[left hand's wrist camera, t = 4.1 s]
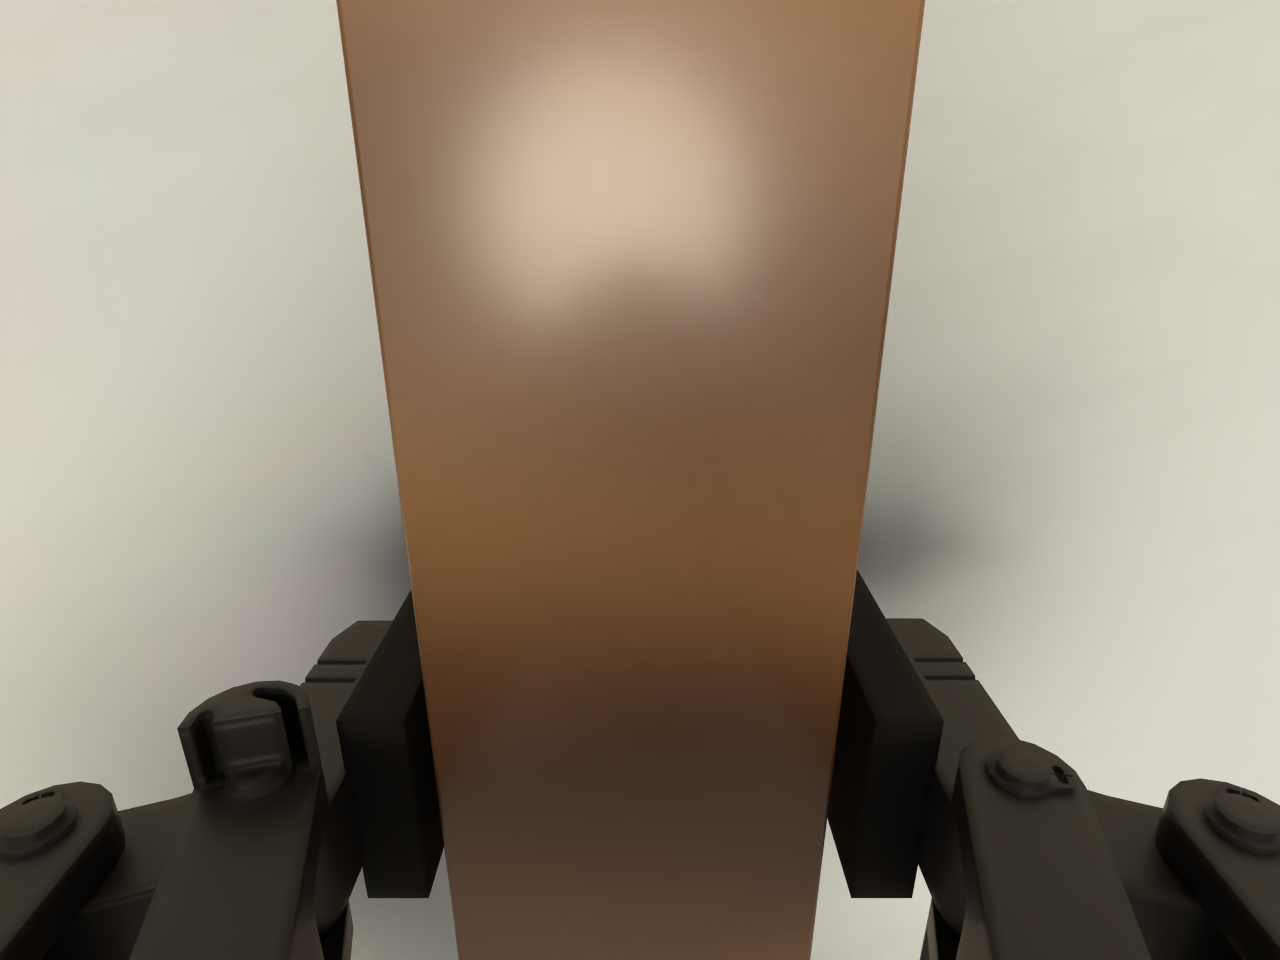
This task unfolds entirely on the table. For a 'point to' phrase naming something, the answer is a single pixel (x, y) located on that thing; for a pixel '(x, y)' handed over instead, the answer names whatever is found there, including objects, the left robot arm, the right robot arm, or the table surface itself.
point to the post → (632, 439)
